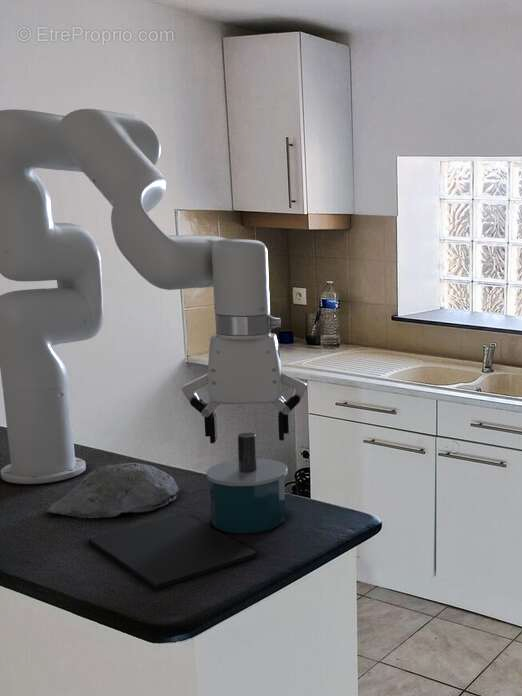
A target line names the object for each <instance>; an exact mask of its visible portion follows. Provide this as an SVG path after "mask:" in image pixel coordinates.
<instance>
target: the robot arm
mask: <svg viewBox="0 0 522 696" xmlns="http://www.w3.org/2000/svg"><path fill="white" fill-rule="evenodd" d="M161 152H162V146H161V141H160V138H159V135H158V134H157V131H156V130H155V129H154V127H153V126H152V125H151V124H150V123H148V122H147V121H146V120H145V119H143V118H141V117H140V116H136V115H134V114H127V113H122V112H115V111H109V110H104V109H96V108H80V109H76V110H75V109H74V110H73V111H70V112H69V113H67V114H66V115H62V114H56V113H49V112H45V111H44V112H43V111H37V110H30V109H14V108H11V109H1V110H0V275H1V276H2V277H4V278H6V279H7V280H10V281H15V282H47V281H56V284H57V285H56V286H57V287H51V288H43V287H42V288H30V289H19V290H12V291H7V292H5V293H2V294H0V379H1V387H2V394H3V403H4V414H5V421H6V423H5V424H6V433H7V443H8V450H9V460H10V461H9V462H10V464H9V463H8V464H7V465H5V466H4V467H2V468H1V470H0V478H1V479H2V480H3V481H5V482H8V483H11V484H19V485H38V484H39V485H40V484H49V483H53V482H54V483H55V482H60V481H64V480H65V481H66V480H68V479H71V478H74V477H76V476H79V475H81V474H82V473H84V472H85V471H86V469H87V463H86V461H85V460H84V459H82V458H80V457H76V454H75V442H74V440H75V439H74V431H73V429H74V428H73V419H72V407H71V396H70V383H69V374H68V370H67V368H66V365H65V364H64V362H63V360H62V359H61V358H60V357H59V355H58V354H57V353H56V352H55V350H54V349H53V346H56V345H63V344H68V343H69V344H70V343H75V342H82V341H87V340H90V339H93V338H94V337H96V336H97V335H98V334H99V333H100V331H101V330H102V326H103V323H104V315H105V313H104V311H105V309H104V292H103V291H104V289H103V276H102V275H103V274H102V272H103V271H102V260H101V259H102V258H101V252H100V249H99V245H98V243H97V241H96V240H95V238H94V236H93V235H92V234H91V232H89V231H88V230H87V228H85V227H83V226H81V225H79V224H75V223H70V222H54V219H53V213H52V212H53V209H52V208H53V207H52V198H51V195H50V193H49V190H48V188H47V187H46V185H45V183H44V182H43V180H42V179H41V177H40V176H39V175H38V174H37V172H35V169H43V170H53V171H63V172H64V171H65V172H66V171H67V172H76V173H77V172H78V173H84V175H85V176H86V177H87V178H88V179H89V181H90V182H91V183H92V184H93V185H94V187H95V188H96V189H97V190H98V191H99V192H100V193H101V194H102V196H103V197H104V198H105V199H106V201H107V202H108V203H109V204H110V206H112V208H111V214H110V215H111V216H110V225H111V231H112V234H113V239H114V242H115V244H116V247H117V249H118V250H119V251H120V253H121V254H122V256H123V257H124V259H126V261H128V263H129V264H130V265H131V266H132V268H134V270H135V271H136V272H137V273H138V274H139V275H140V276H141V277H142V278H143V279H144V280H145V281H147V282H148V283H149V284H150V285H152V286H154V287H156V288H158V289H161V290H167V291H173V290H174V291H175V290H187V289H202V288H203V289H204V288H213V305H214V306H213V309H214V326H215V327H214V328H215V333H213V334H211V335H210V340H209V349H208V362H207V364H208V366H207V373H205V374H203V375H202V376H199V377H198V378H195V379H194V380H191V381H190V382H188V383H186V384H184V385H183V386H182V388H181V391H182V393H183V395H184V396H185V398H186V399H187V400H188V402H189V404H190V406H192V407H193V409H195V410H196V411H198V412H199V413H200V414H201V416H202V417H203V420H204V435H205V437H209V443H210V444H215V443H216V442H217V440H218V425H217V424H218V423H217V413H216V412H215V410H216V409H217V408H218V406H219V405H242V404H243V405H245V404H246V405H247V404H270V403H272V404H273V405H274V406H275V407H276V408H277V409H278V410H279V411H278V415H277V419H278V420H277V421H278V440H279V441H283V442H284V441H285V434H287V435H289V434H290V425H289V423H290V421H289V420H290V419H289V414H290V412H291V411H292V410H293V409H294V408H295V407H296V406H297V405H299V403H301V400H302V397H303V396H304V394H305V392H306V390H307V388H308V386H307V385H308V384H307V383H306V382H305V381H304V380H303V381H302V380H300V379H298V378H296V377H294V376H292V375H290V374H288V373H285V372H283V371H282V364H281V363H282V362H281V351H280V347H279V346H280V345H279V342H278V338H277V334H276V333H271V330H273V329H276V328H281V327H282V326H281V317H275V316H274V317H273V315H271V306H270V284H269V283H270V280H269V279H270V277H269V276H270V275H269V254H268V248H267V246H266V244H265V243H263V242H262V241H260V240H257V239H244V238H227V237H222V236H217V235H195V234H183V235H182V234H179V235H178V234H175V235H174V234H173V235H167V234H166V233H165V232H164V231H163V230H162V229H161V228H160V227H159V226H158V224H156V223H155V221H154V220H153V219H152V218H151V217H150V215H149V214H148V213H149V212H150V211H152V210H153V209H154V208H155V207H157V205H158V204H160V202H161V201H162V199H163V198H164V196H165V194H166V190H167V182H166V179H165V177H164V175H163V174H162V172H160V171H159V169H158V168H157V167H156V165H157V163H158V162H159V160H160V157H161ZM283 384H285V385H286V386H289V387H291V388H293V389H294V392H293V394H292V395H291V396H290V397H289V398H288V399H287V400H286V399H285V398H284V397H283V396H282V392H283ZM205 386H208V387H207V388H208V397H209V400H208V401H207V402H206V401H204V400H203V398H202V399H201V398H200V396H199V395H198V394H197V392H196V391H197V390H198V389H201V388H202V387H205Z"/></svg>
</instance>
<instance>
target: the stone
mask: <svg viewBox="0 0 522 696" xmlns="http://www.w3.org/2000/svg"><path fill="white" fill-rule="evenodd" d="M180 490H181V488H180V486H179V485H177V482H176V480H175V479H174V478H173V477H172V476H171V475H169V474H168V473H166V472H165V471H163V470H161V469H159V468H157V467H155V466H153V465H149V464H144V463H138V462H124V463H117V464H109V465H108V464H107V465H104V466H101V467H99V468H96V469H94V470H92V471H91V472H89V473H88V474H87V475H85V476H84V477H83V479H81V480H80V481H79V483H77V484H76V485H75V486H74V487H73V488H72V490H70V491H69V492H68V493H67V494H66V495H64V496H63V497H61V498H60V499H58V500H57V501H56V502H54V503H53V504H52V505H51V506H49V507H48V508H47V509H46V512H49V513H51V514H57V515H58V514H59V515H60V516H71V517H76V518H81V519H85V518H87V519H99V518H105V519H106V518H107V519H108V518H115V517H118V516H120V514H124V513H126V514H128V513H145V512H152V511H156V509H159V508H163V507H165V506H167V505H168V504H169V503H171V502H174V501H175V500H176V498H177V497H178V495H179V492H180Z"/></svg>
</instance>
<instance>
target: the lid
mask: <svg viewBox="0 0 522 696" xmlns="http://www.w3.org/2000/svg"><path fill="white" fill-rule="evenodd" d="M236 437H237V439H236V441H237V459H233V460H231V459H230V460H227V461H224V462H219V463H217V464H214V465H211V466H210V467H209V468H208V469H207V470H206V479H207V480H208V481H209V482H210V481H211V482H213V483H216V484H220V485H226V486H254V485H261V484H267V483H271V482H274V481H277V480H279V479H281V478H283V477H285V478H286V476H287V475H288V473H289V467H288V466H287V464H285V463H284V462H282V461H279V460H275V459H269V458H257V435H256V433H254V432H240V433H237V436H236Z"/></svg>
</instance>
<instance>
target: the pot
mask: <svg viewBox="0 0 522 696" xmlns="http://www.w3.org/2000/svg"><path fill="white" fill-rule="evenodd" d="M285 479H286V476H285V477H283V478H281V479H279V480H277V481H274V482H271V483H267V484H261V485H254V486H226V485H220V484H216V483H213V482H211V481H209V492H210V493H209V494H210V514H211V516H210V517H211V523H212V526H213V527H214V529H215V530H217V531H219V532H225V533H229V534H255V533H261V532H265V531H269V530H272V529H275V528H276V527H279V526H280V525H282V524H283V523H284V522H285V521H286V518H287V517H286V512H287V511H286V480H285Z"/></svg>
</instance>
